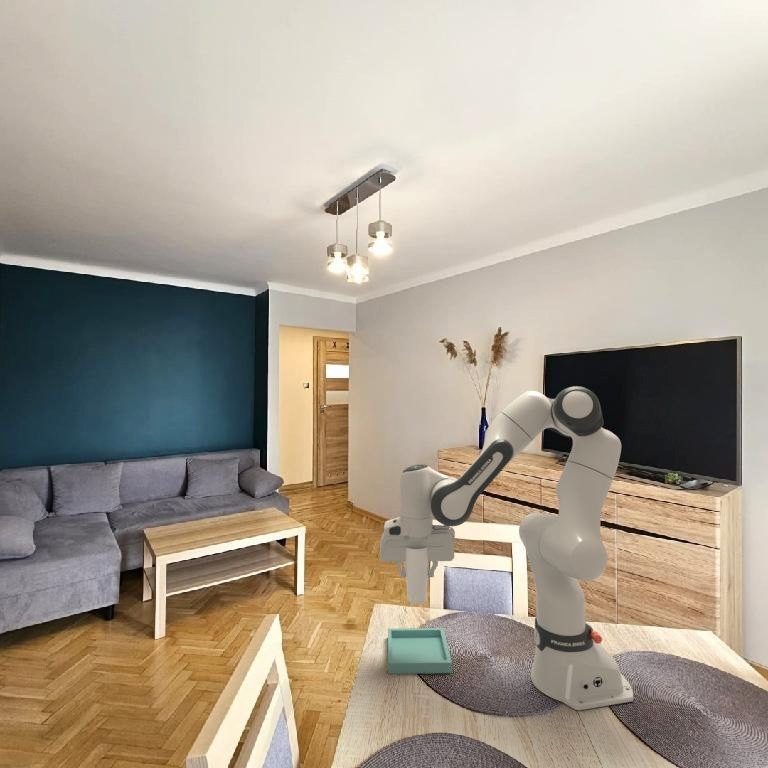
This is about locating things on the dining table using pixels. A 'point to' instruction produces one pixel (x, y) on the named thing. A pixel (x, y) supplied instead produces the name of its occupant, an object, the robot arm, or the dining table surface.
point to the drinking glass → (416, 575)
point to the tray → (418, 651)
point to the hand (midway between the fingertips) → (416, 576)
